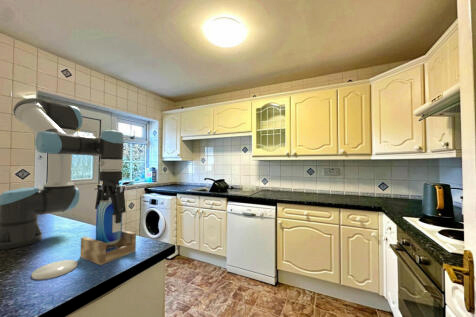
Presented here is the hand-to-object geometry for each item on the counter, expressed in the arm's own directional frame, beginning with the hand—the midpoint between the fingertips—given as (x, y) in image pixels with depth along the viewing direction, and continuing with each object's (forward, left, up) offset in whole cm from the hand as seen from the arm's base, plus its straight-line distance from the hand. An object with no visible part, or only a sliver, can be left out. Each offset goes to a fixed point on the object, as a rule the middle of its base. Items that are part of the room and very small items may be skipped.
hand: (109, 229), depth 77 cm
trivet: (-3, -15, -9) cm, 18 cm away
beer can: (0, 0, -5) cm, 5 cm away
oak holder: (0, 0, -9) cm, 9 cm away
